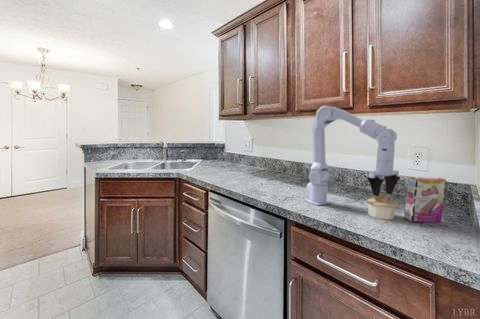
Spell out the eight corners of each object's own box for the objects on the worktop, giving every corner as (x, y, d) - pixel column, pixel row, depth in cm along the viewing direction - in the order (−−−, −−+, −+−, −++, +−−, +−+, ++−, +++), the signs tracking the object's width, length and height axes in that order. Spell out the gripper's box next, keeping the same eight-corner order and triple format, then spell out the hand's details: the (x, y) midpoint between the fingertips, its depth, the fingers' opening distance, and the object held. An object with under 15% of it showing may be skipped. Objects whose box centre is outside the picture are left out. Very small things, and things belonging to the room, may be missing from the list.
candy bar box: (412, 223, 92) (416, 179, 91) (403, 218, 97) (407, 176, 96) (442, 222, 93) (446, 179, 91) (431, 218, 98) (435, 176, 96)
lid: (361, 201, 102) (362, 192, 102) (379, 198, 106) (380, 190, 106) (385, 208, 93) (386, 199, 92) (404, 205, 97) (404, 196, 97)
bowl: (363, 213, 103) (364, 201, 102) (378, 210, 106) (379, 199, 106) (383, 220, 94) (384, 207, 94) (399, 217, 98) (400, 205, 98)
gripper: (381, 162, 91) (379, 199, 93) (407, 160, 97) (404, 195, 99) (365, 160, 98) (362, 194, 99) (390, 158, 103) (387, 191, 105)
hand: (382, 194), depth 99 cm, fingers open, 7 cm apart
